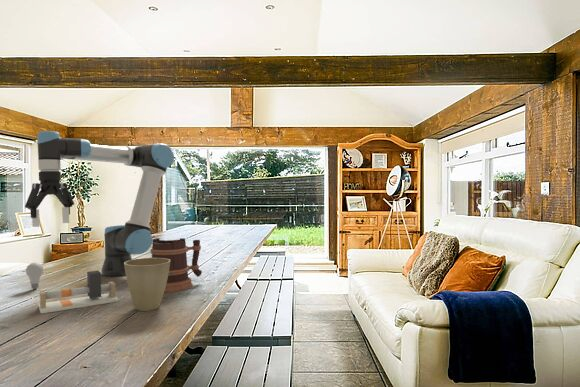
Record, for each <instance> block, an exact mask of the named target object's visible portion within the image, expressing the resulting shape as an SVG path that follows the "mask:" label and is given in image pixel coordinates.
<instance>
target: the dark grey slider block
mask: <svg viewBox="0 0 580 387" xmlns="http://www.w3.org/2000/svg"><path fill="white" fill-rule="evenodd" d="M86 273H87V275H86V276H87V281H86V282H87V287H89V286H90V293H88V294H87V297H88V296H89V298H97V297H101V294H102V292H101V285H102V275H101V271H99V270H91V271H87V272H86Z"/></svg>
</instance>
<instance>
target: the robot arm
mask: <svg viewBox="0 0 580 387" xmlns="http://www.w3.org/2000/svg"><path fill="white" fill-rule="evenodd" d="M36 141H37V143H36V145H37V157H38V159H37V161H38V170H39V172H38V181H40V182H39V183H37V182H36V183H35V182H33V183H32V185H31V190H30V193H29V195H28V197H27V200H26V202H25V205H24V208H25V209H28V210H30V218H31V219H32V222H31V223H32V224H31V225H32V227H33V228H35V227H36V228H37V227H41V226H40V223H41V222H40V209H38V208H39V206H40V205H41V204H42V202H43V201H44V199H45V197H46V196H48V195H49V196H50V195H53V196H55V198H57V200H58V201H59V202H60V203H61V204H62V207H61V209H62V210H61V211H62V213H61V215H62V224H70V215H71V207H73V206H74V205H75V202H74V200H73V197H72V196H71V192H70V191H69V189H68V184H67V182H61V180H62V173H61V170H62V169H61V166H62V165H61V159H63V160H78V161H87V162H88V161H90V162H102V163H116V164H123V165H125V166H127V167H136V168H141V171H142V176H141V178H140V182H139V185H138V189H137V193H136V196H135V200H134V204H133V207H132V211H131V215H130V218H129V220H128V221H125V224H121V225H111V226H106V227H105V228H104V235H103V236H104V260H103V263H102V267H101V270H100V273H101V276H104V277H105V276H106V277H118V276H119V277H121V276H126V273H125V267H124V262H126V261H129V260H133V258H132V255H143V254H145V253H146V252H148V251H149V250H150V248H151V247H152V245H153V239H154V238H153V236H152V233H151V229H152V227H151V226H150V222H151V221H150V220H151V218H152V217H151V216H152V214H153V209H154V206H155V203H156V202H155V201H156V197H157V195H158V190H159V187H160V183H161V179H162V177H163V176H164V175H165V174H167V169H168V168H169V167H171V166H172V165H173V164H174V161H175V154H174V151H173V150H172V148H171V147H170V146H169V145H168V144H166V143H153V144H143V145H138V146H130V145H128V146H125V147H120V146H119V147H118V146H111V145H110V146H109V145H101V144H100V145H99V144H92V143H91V142H90V140H88V139H84V138H69V137H61V136H60V132H58V131H54V130H42V131H41V130H40V131H39V132H38V133H37V138H36Z"/></svg>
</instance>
